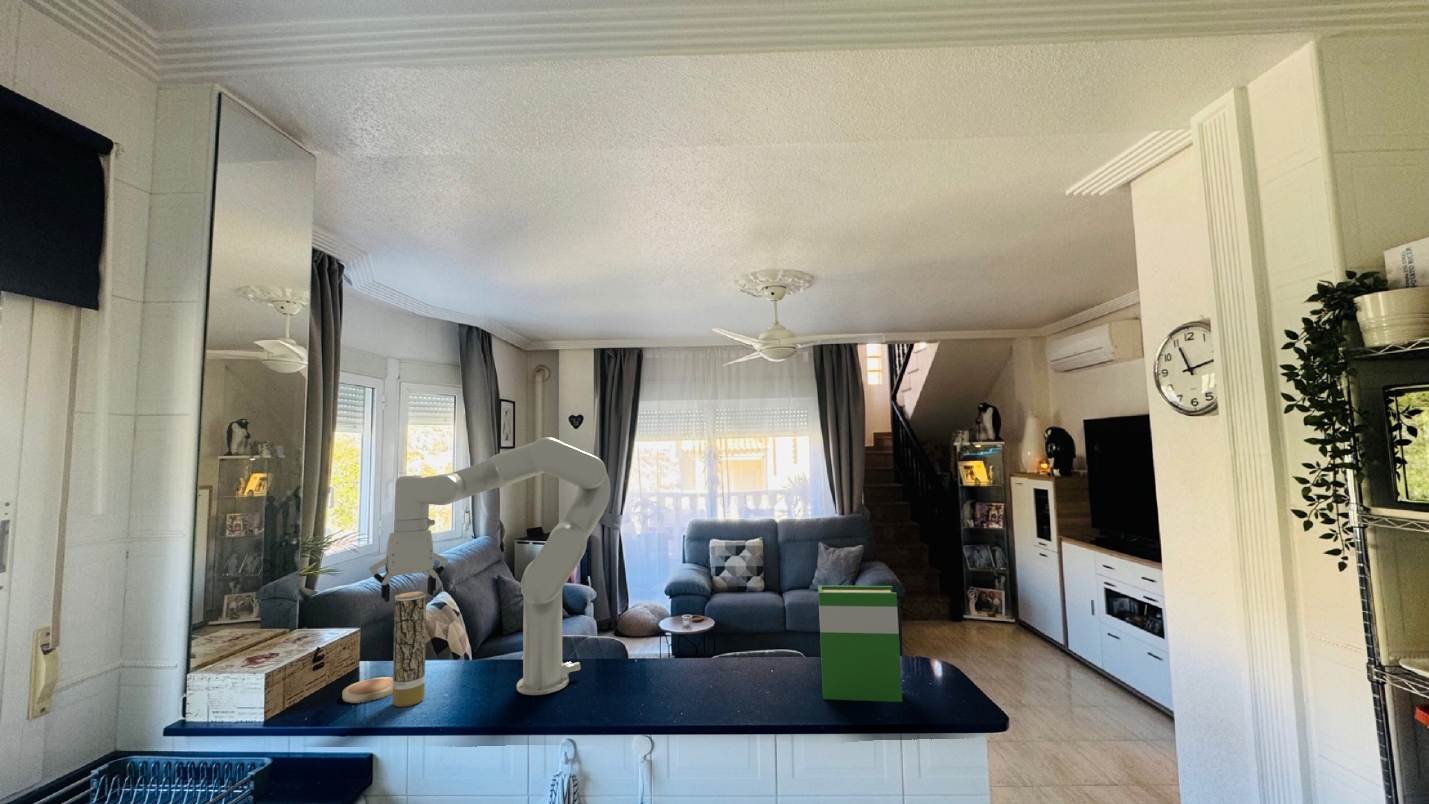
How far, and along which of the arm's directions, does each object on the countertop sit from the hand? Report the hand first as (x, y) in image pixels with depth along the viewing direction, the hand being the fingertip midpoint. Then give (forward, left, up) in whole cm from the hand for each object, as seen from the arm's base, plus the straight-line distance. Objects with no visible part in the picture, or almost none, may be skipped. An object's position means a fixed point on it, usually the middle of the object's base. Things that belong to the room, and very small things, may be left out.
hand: (408, 597), depth 140 cm
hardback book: (-82, +70, -25) cm, 111 cm away
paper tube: (0, 0, -25) cm, 25 cm away
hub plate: (+6, -13, -24) cm, 28 cm away
